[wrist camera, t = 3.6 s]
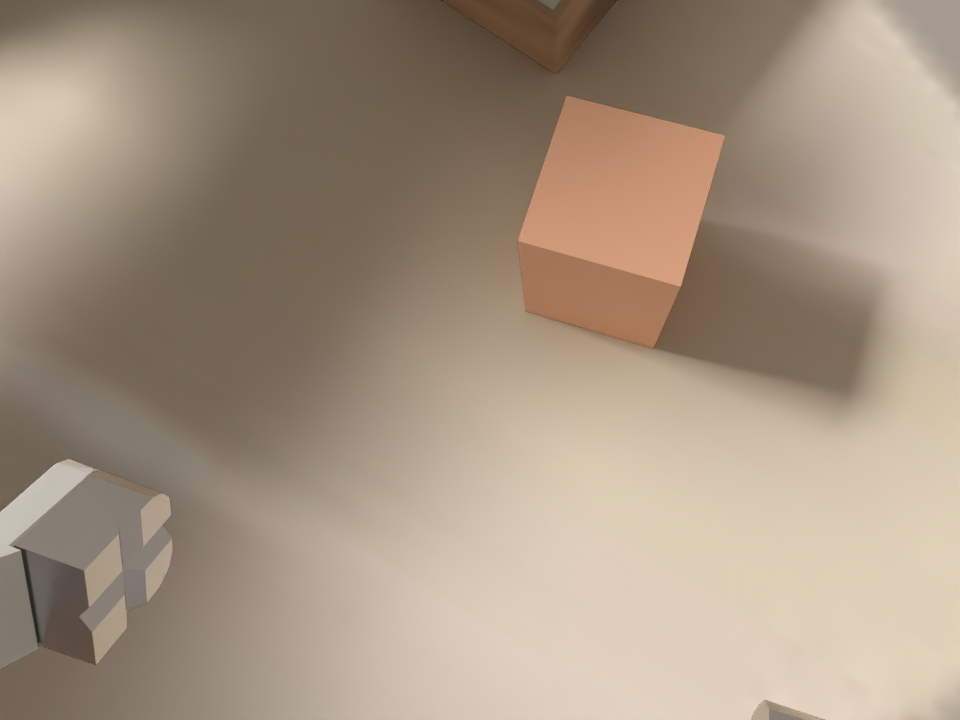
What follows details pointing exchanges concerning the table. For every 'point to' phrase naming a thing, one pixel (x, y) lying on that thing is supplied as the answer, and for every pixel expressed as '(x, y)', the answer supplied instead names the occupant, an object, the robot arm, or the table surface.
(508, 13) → the tower base
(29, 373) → the table surface
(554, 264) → the terracotta block
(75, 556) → the robot arm
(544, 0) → the tower top
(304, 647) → the table surface
